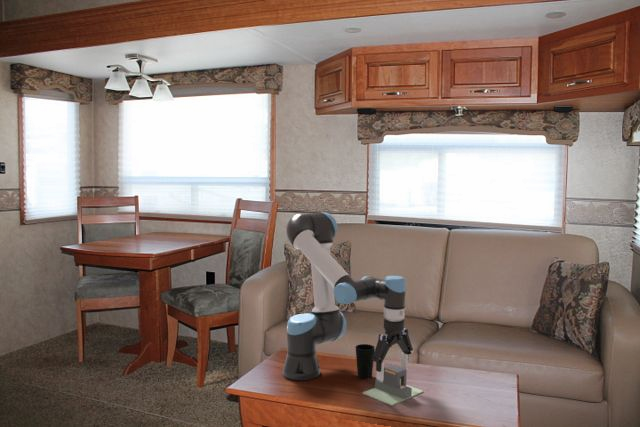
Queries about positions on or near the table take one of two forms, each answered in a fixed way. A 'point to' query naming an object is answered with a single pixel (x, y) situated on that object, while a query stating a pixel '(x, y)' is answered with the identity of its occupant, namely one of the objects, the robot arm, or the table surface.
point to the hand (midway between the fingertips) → (392, 375)
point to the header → (391, 392)
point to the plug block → (394, 376)
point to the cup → (364, 360)
